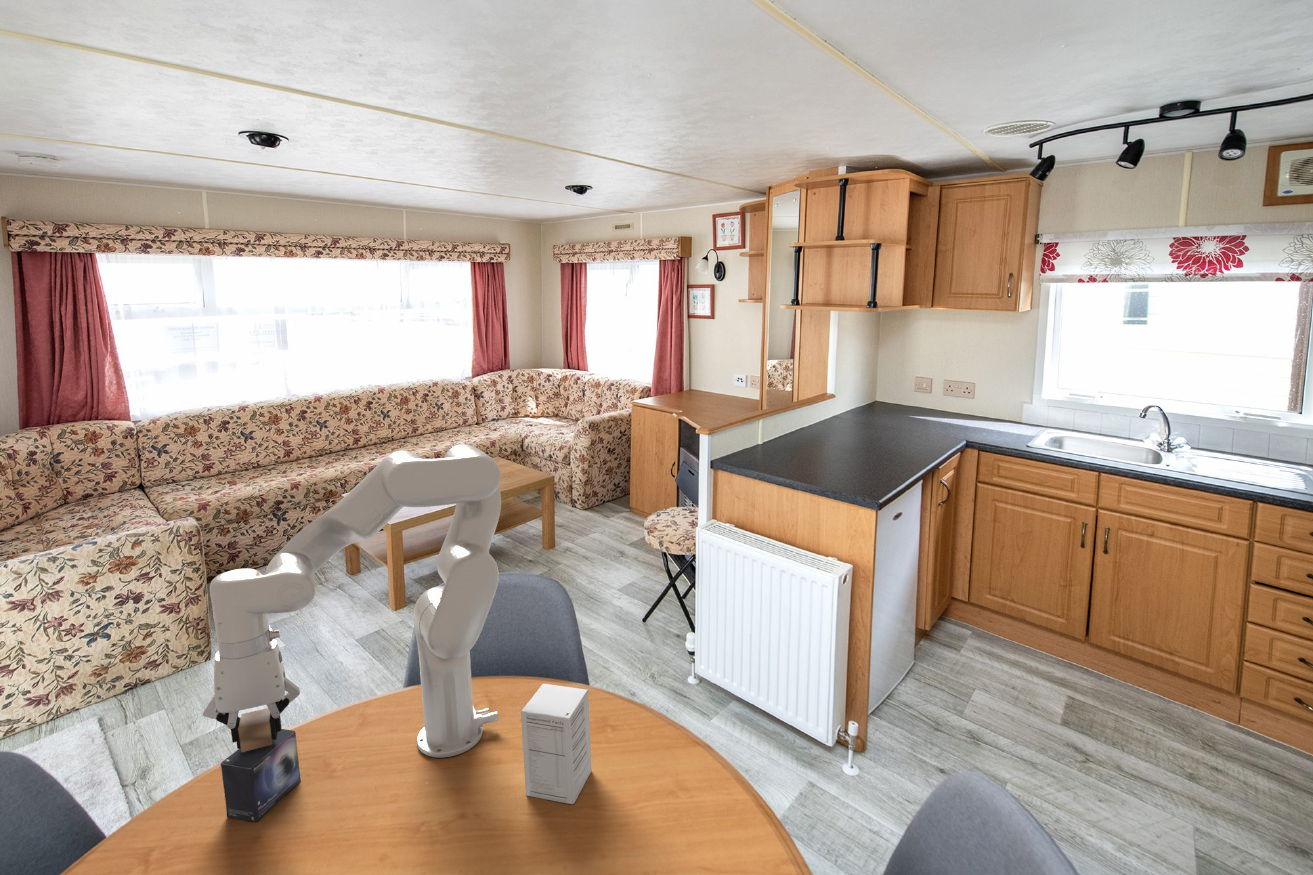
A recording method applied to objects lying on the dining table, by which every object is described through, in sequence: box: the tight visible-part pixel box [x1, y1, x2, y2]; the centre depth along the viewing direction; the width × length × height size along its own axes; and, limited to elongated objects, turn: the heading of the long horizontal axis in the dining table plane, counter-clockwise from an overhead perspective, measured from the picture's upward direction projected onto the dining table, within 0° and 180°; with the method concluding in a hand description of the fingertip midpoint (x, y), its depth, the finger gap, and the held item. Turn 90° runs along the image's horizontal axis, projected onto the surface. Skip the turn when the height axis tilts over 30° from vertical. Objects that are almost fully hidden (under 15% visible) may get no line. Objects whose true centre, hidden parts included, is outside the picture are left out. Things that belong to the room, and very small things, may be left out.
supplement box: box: [520, 683, 592, 805], centre depth 117 cm, size 10×9×17 cm
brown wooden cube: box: [238, 707, 273, 752], centre depth 112 cm, size 4×4×4 cm
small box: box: [220, 728, 302, 823], centre depth 114 cm, size 11×6×10 cm, turn 168°
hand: (258, 738), depth 113 cm, fingers closed on brown wooden cube, 4 cm apart
